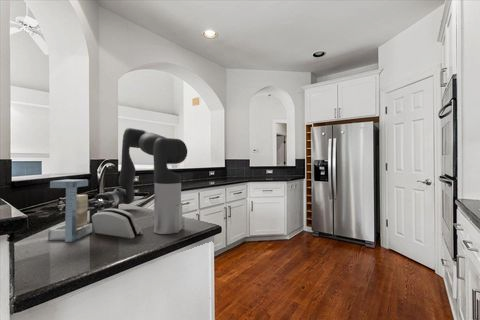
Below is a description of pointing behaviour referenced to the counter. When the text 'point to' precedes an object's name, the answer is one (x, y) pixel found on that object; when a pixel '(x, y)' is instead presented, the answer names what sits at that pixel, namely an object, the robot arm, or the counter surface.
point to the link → (81, 211)
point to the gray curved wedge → (115, 223)
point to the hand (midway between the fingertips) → (83, 207)
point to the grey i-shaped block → (69, 213)
